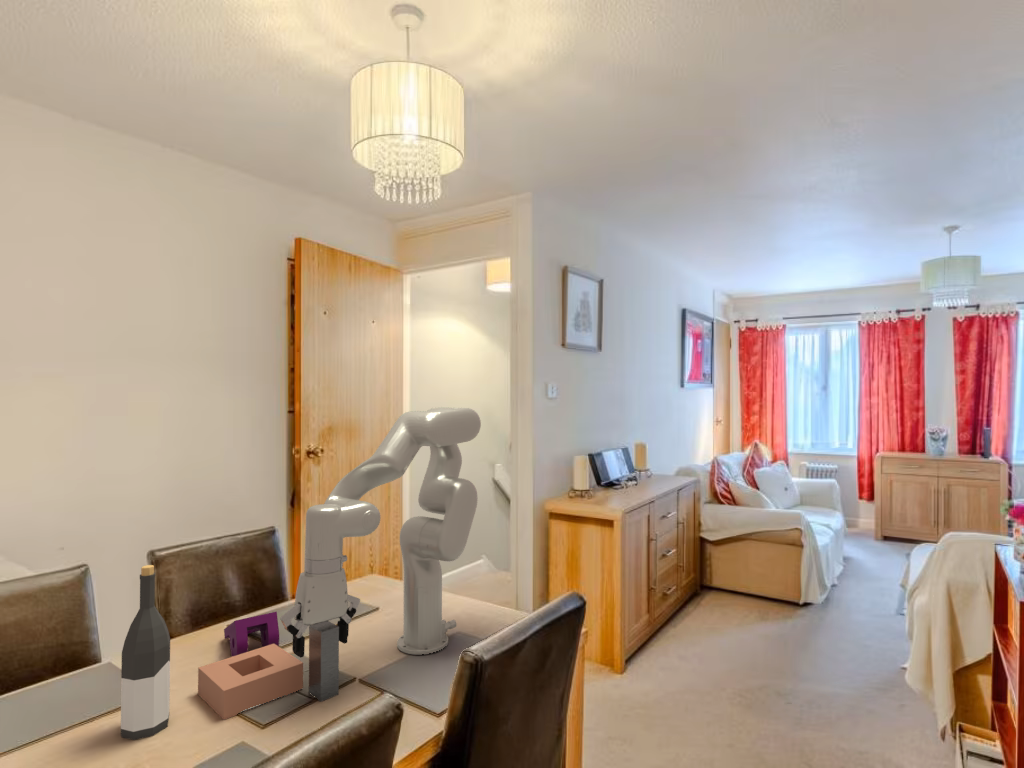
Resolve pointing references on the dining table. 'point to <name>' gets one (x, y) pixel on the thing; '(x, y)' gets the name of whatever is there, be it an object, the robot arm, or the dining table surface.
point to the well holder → (249, 679)
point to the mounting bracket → (249, 625)
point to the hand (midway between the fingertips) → (321, 648)
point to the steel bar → (324, 660)
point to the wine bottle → (145, 667)
